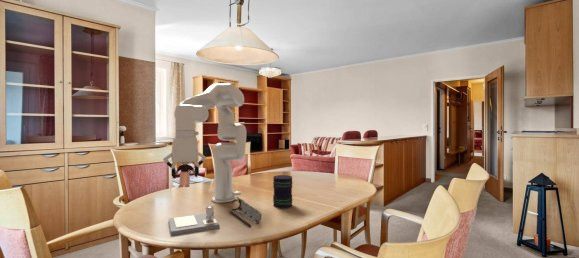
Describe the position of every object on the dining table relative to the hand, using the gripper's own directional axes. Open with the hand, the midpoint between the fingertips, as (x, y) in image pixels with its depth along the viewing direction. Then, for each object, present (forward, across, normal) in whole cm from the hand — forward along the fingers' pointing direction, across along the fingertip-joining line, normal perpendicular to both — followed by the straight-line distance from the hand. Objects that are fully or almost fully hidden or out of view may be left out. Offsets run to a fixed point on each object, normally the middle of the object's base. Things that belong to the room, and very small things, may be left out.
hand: (185, 177), depth 116 cm
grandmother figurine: (+4, 0, 0) cm, 4 cm away
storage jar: (+20, -48, -8) cm, 53 cm away
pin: (+18, -9, +5) cm, 21 cm away
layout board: (+20, -3, +1) cm, 20 cm away
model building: (+21, -25, 0) cm, 32 cm away
